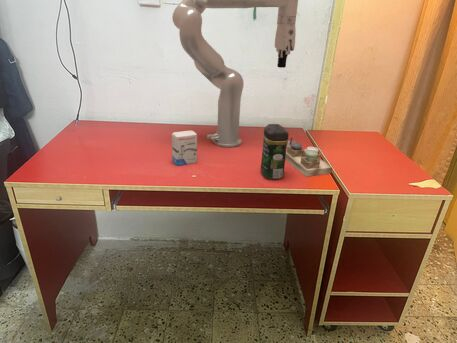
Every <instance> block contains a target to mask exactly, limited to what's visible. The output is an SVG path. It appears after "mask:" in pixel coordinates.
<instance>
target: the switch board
mask: <svg viewBox="0 0 457 343" xmlns="http://www.w3.org/2000/svg"><path fill="white" fill-rule="evenodd" d="M306 151H307V148H306V149H304V148H302V149H301V150H295V151H294V150H293V149H292V148H291V146H289V147H286V156H285V162H288V163H289V164H290V165H291V166H292V167H293V168H294V169H296V170H297V171H298V172H299V173H300V174H301V175H303V176H304V178H306V177H313V176H321V175H329V174H332V170H333V167H332V165H330V164H328V163H327V162H326V161H324V160H323V159H321V158H322V157H321V156H322V154H321V153H319V152H318V155H317V157H316V161H312V162H308V161H307V160H306V159H305V158H306V155H305V153H306Z"/></svg>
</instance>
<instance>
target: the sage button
mask: <svg viewBox="0 0 457 343" xmlns="http://www.w3.org/2000/svg"><path fill="white" fill-rule="evenodd" d="M318 153H319V151H318V152H317V151H314V150H307V151H306V153H305V155H306V158H305V159H306V160H307V161H308V162H312V161H316V157H317V155H318Z"/></svg>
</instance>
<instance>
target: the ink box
mask: <svg viewBox="0 0 457 343" xmlns="http://www.w3.org/2000/svg"><path fill="white" fill-rule="evenodd" d="M171 153H172V162H173V164H175V165H176V166H184V165H190V164H195V163H197V161H198V134H197V133H196V132H195V131H194V130H183V131H174V132H172V133H171Z"/></svg>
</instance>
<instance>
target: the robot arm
mask: <svg viewBox="0 0 457 343" xmlns="http://www.w3.org/2000/svg"><path fill="white" fill-rule="evenodd" d="M298 4H299V0H182V1H180V3H179V4H178V5H177V6H176V7H175V9H174V10H173V13H172V17H171V18H172V22H173V25H174V26H175V27H176V29H178V30H179V31H178V32H179V41H180V45H181V47H182V50H184V52H185V53H186V54H187V55H188V57H190V58H191V59H192V61H193V64H194V66H195V68H196V69H197V71H198V72H199V73H201V75H203V76H204V77H205V78H206V79H207V80H208V81H209V82H210V83H211V84H212V85H213V86H214V87H215V88H217V89H219V90H220V91H219V96H218V101H217V124H216V125H217V130H216V131H214V132H213V133H212V134H211V133H209V134H206V136H205V137H206V140H209V139H210V140H211V141H213V143H214V144H215V145H217V146H219V147H225V148H232V147H233V148H234V147H238V146H240V145H242V141H243V140H242V139H241V138H240V137H239V131H240V117H241V116H240V115H241V101H242V95H243V89H244V79H243V76H242V74H241V73H239V72H238V71H237V70H234V69H232V68H230V67H228V66H226V65H225V61H224V59H223V57H222V55H221V54H220V53H218V52H217V51H216V50H215V48H213V47H212V46H211V44H210V43H209V42H208V41H207V40H206V39H205V38H204V36H203V32H202V27H203V17H202V16H203V15H202V14H203V13H204V11H205V10H206V9H250V8H251V9H252V8H278V9H277V19H276V30H275V38H274V48H275V49H276V50H275V51H276V52H277V65H276V66H277V67H278V68H281V69H282V68H284V69H285V68H286V66H287V59H288V55H290V54H291V52H293V51H294V50H295V48H296V45H295V44H296V20H297V12H298V6H299V5H298Z"/></svg>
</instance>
